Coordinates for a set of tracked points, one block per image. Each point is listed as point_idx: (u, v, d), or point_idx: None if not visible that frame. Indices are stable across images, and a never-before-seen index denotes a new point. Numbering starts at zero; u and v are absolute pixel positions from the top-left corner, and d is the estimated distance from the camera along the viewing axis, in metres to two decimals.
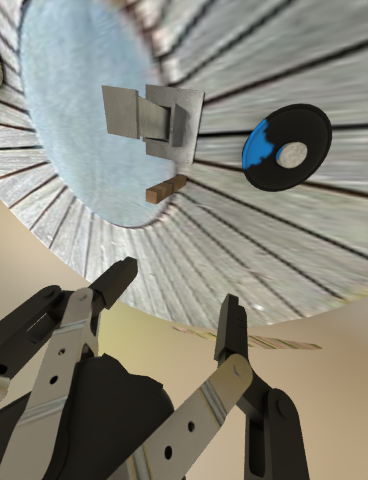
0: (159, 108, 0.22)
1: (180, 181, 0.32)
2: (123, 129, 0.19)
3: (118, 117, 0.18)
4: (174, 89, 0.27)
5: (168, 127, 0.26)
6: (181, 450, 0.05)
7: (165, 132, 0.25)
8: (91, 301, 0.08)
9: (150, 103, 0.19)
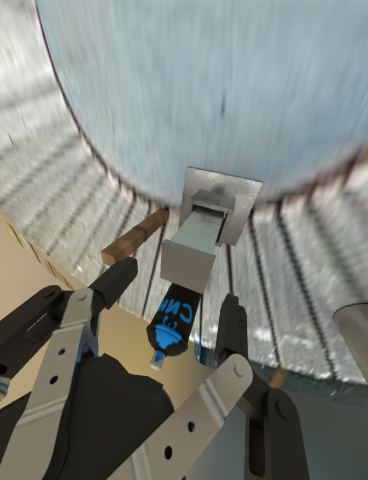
0: None
1: None
2: (167, 266, 0.13)
3: (180, 266, 0.13)
4: (245, 219, 0.25)
5: None
6: (181, 450, 0.05)
7: None
8: (91, 301, 0.08)
9: None
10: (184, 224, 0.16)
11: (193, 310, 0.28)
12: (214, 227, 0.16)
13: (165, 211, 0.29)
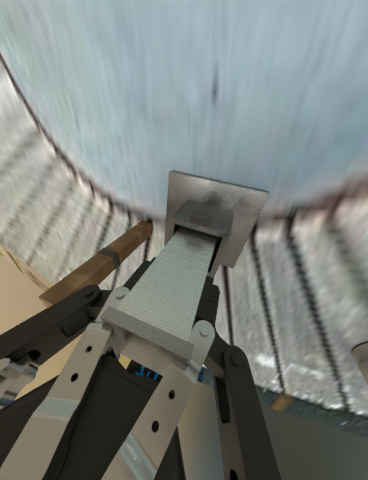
0: None
1: None
2: (119, 343, 0.08)
3: (137, 349, 0.08)
4: (245, 238, 0.19)
5: None
6: (166, 417, 0.05)
7: None
8: None
9: None
10: (155, 262, 0.10)
11: None
12: (200, 265, 0.11)
13: (147, 224, 0.24)
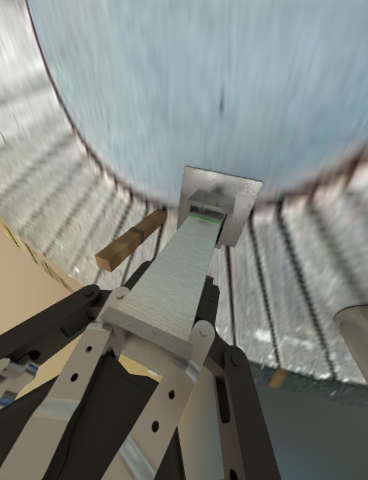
0: None
1: None
2: (119, 343, 0.08)
3: (137, 348, 0.08)
4: (244, 220, 0.24)
5: None
6: (166, 417, 0.05)
7: None
8: None
9: None
10: (155, 262, 0.10)
11: None
12: (200, 265, 0.11)
13: (163, 212, 0.29)
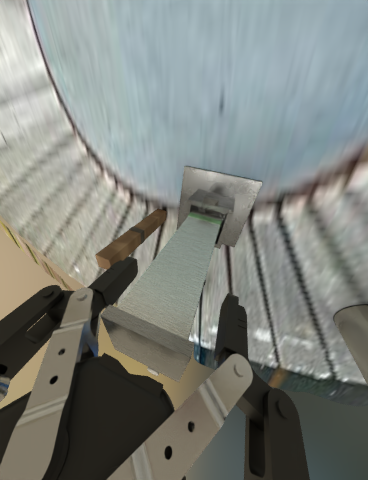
0: None
1: None
2: (119, 341, 0.08)
3: (137, 347, 0.08)
4: (244, 220, 0.24)
5: None
6: (181, 450, 0.05)
7: None
8: (91, 301, 0.08)
9: None
10: (155, 262, 0.11)
11: None
12: (200, 264, 0.11)
13: (163, 211, 0.29)
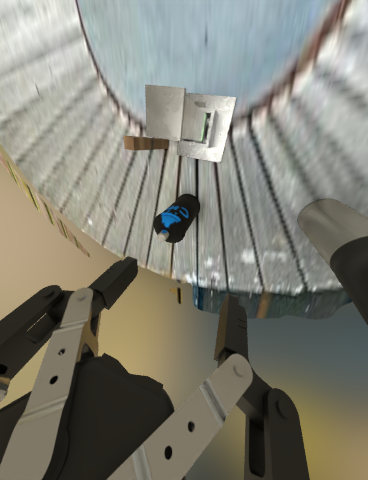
0: None
1: (159, 148, 0.36)
2: (151, 115, 0.17)
3: (160, 110, 0.16)
4: (226, 134, 0.33)
5: None
6: (181, 450, 0.05)
7: None
8: (91, 301, 0.08)
9: (186, 138, 0.20)
10: None
11: (189, 214, 0.37)
12: None
13: None
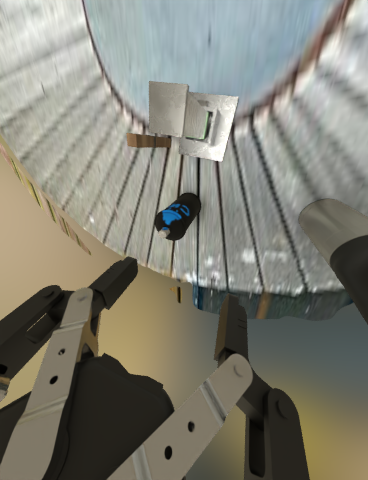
0: (192, 136, 0.23)
1: None
2: (154, 111, 0.17)
3: (163, 106, 0.17)
4: (228, 133, 0.33)
5: (188, 136, 0.26)
6: (181, 450, 0.05)
7: None
8: (91, 301, 0.08)
9: (188, 135, 0.21)
10: None
11: (190, 212, 0.37)
12: None
13: (168, 138, 0.38)
